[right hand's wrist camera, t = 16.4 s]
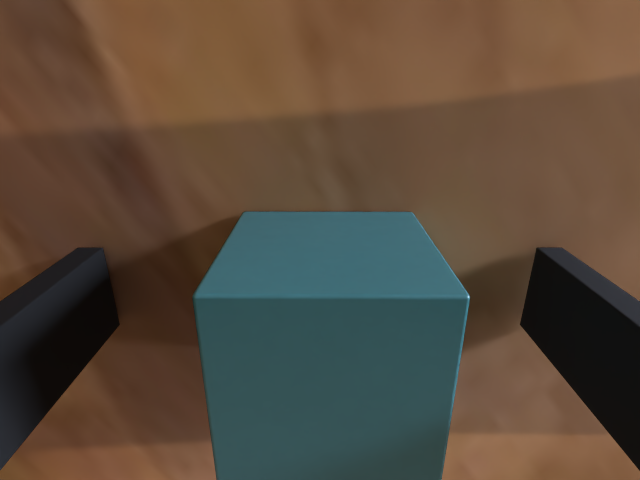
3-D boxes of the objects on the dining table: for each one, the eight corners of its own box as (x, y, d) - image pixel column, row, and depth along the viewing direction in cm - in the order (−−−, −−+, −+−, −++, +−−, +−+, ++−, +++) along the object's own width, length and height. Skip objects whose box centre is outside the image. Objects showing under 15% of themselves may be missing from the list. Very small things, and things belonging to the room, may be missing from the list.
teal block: (413, 210, 12) (471, 295, 7) (400, 352, 14) (440, 493, 9) (242, 210, 12) (190, 295, 7) (252, 351, 14) (216, 492, 9)
